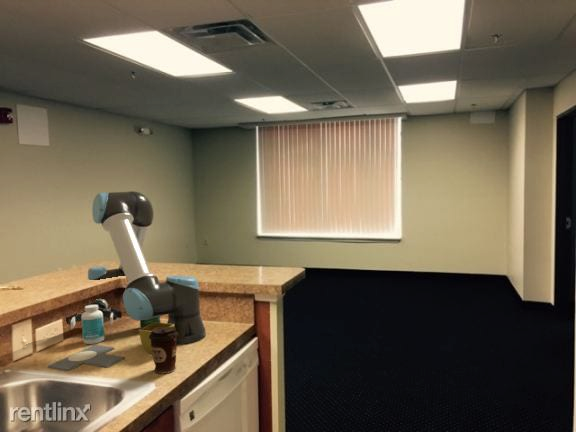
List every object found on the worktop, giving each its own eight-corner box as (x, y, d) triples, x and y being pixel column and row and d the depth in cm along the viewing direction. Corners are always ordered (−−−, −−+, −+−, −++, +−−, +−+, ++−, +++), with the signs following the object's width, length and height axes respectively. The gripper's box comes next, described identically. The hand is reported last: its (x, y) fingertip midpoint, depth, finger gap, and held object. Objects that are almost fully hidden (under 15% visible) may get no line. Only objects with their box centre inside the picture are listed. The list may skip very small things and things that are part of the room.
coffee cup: (162, 378, 139) (159, 335, 138) (145, 372, 144) (142, 330, 143) (185, 368, 145) (182, 327, 144) (168, 362, 150) (165, 323, 149)
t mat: (137, 351, 161) (136, 350, 161) (92, 374, 143) (92, 372, 143) (95, 346, 168) (94, 344, 168) (47, 367, 150) (47, 365, 150)
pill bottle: (108, 341, 174) (105, 305, 173) (88, 346, 169) (85, 309, 168) (99, 336, 179) (97, 302, 178) (79, 342, 174) (77, 306, 173)
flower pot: (161, 358, 154) (159, 331, 154) (139, 355, 158) (138, 329, 157) (176, 349, 163) (175, 323, 162) (155, 346, 166) (154, 322, 165)
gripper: (129, 314, 196) (128, 328, 176) (64, 321, 189) (55, 337, 169) (128, 296, 196) (126, 309, 176) (63, 303, 188) (53, 317, 168)
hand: (91, 323), depth 172 cm, fingers open, 13 cm apart
